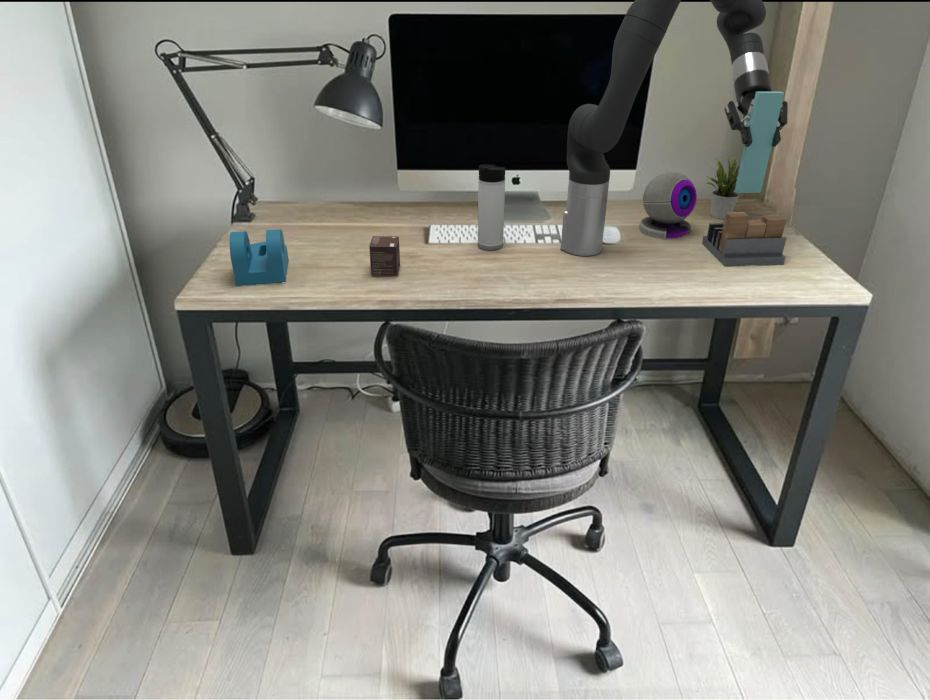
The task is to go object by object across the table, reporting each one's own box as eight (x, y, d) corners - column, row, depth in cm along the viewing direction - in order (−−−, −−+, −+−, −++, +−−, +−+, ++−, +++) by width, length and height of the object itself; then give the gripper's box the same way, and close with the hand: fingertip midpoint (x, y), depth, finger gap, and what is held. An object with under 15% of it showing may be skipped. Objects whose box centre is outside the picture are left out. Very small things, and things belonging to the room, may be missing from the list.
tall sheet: (734, 190, 160) (755, 91, 149) (757, 190, 160) (780, 91, 149) (737, 193, 159) (759, 92, 148) (760, 192, 159) (784, 92, 148)
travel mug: (471, 246, 168) (471, 164, 158) (489, 239, 172) (490, 159, 162) (490, 253, 164) (492, 170, 154) (508, 245, 168) (511, 164, 158)
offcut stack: (718, 249, 161) (726, 212, 157) (772, 247, 162) (781, 210, 158) (723, 253, 159) (731, 216, 154) (778, 252, 160) (787, 215, 155)
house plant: (762, 215, 187) (775, 155, 179) (741, 229, 178) (755, 166, 170) (712, 204, 195) (723, 146, 187) (690, 216, 187) (700, 156, 178)
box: (374, 265, 158) (372, 235, 154) (400, 266, 158) (399, 235, 154) (370, 276, 153) (368, 245, 149) (397, 277, 153) (396, 246, 149)
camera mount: (285, 283, 150) (279, 238, 145) (236, 286, 148) (227, 241, 143) (289, 252, 165) (283, 209, 160) (244, 254, 164) (237, 212, 158)
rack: (701, 243, 170) (706, 220, 167) (756, 242, 171) (762, 219, 168) (724, 266, 158) (729, 241, 155) (783, 264, 159) (789, 240, 156)
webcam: (664, 242, 170) (674, 183, 163) (628, 227, 180) (635, 170, 172) (700, 232, 176) (711, 174, 169) (663, 218, 186) (671, 162, 178)
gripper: (727, 68, 152) (738, 135, 148) (790, 68, 153) (802, 135, 149) (713, 89, 160) (723, 154, 155) (773, 88, 161) (785, 153, 156)
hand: (762, 144), depth 152 cm, fingers closed on tall sheet, 5 cm apart
